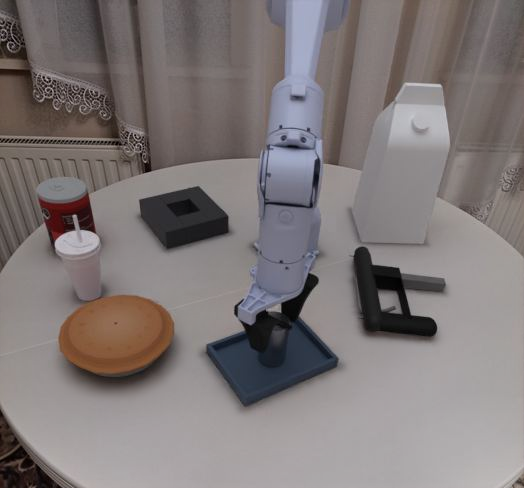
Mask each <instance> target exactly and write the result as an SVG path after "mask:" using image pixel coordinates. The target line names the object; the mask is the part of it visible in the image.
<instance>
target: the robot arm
mask: <svg viewBox="0 0 524 488" xmlns="http://www.w3.org/2000/svg"><path fill="white" fill-rule="evenodd" d="M264 3H265V6H264V7H265V12H266V13H267V17H268V18H269V20H270V23H271V24H273V25H276V26H277V27H279V28H282V29H283V30H284V67H283V68H284V70H283V71H284V72H283V73H284V76H283V79H282V80H280V81H279V82H277V83H276V84H275V85H274V86H273V88H272V90H271V93H270V94H271V96H270V103H269V112H268V121H267V129H266V130H267V131H266V139H265V148H264V149H261V150H260V154H259V159H258V166H257V167H258V168H257V179H256V193H257V201H258V214H257V215H258V218H259V229H258V230H259V231H258V241H255V242H253V247H254V248H255V250H257V262H256V265H254V266H253V267H252V268H251V269H249V276H250V277H252V279H253V280H252V281H251V284H250V286H249V289H248V290H247V293H246V294H245V297H244V298H242V299H241V300H239V302H237V303H236V304H235V305H234V308H233V315H234V316H235V317H236V318H237V320H238V321H239V323H240V324H241V325H242V327H243V329H244V331H246V334H247V337H248V340H249V343H250V347H251V348H252V349H254V350H256V351H258V352H259V353H261V354H263V353H264V352H265V351H266V350H267V347H268V344H269V339H270V335H271V333H272V330H273V328H274V327H275V325H276V324H277V323H278V322H279V321H280V320H278V319H276V318H274V317H272V316H270V315H268V312H269V310H268V309H270V308H273V307H275V306H278V305H280V312H281V313H283V314H285V315H286V316H287V317H288V318H289V320H290V321H291V322H293V323H294V322H295V321H296V320H297V319H298V317H300V315H301V312H302V310H303V308H304V305H305V303H306V301H307V300H308V298H309V297H310V295H311V293H312V292H313V290H314V289H315V288H316V287H317V285H318V284H319V282H320V277H318V276H317V275H316V274H313V273H311V271H313V270H314V269H315V266H316V259H317V256H318V255H320V251H319V250H318V245H319V238H320V232H321V227H322V226H321V225H322V216H321V210H320V207H319V206H318V204H319V203H318V202H319V198H320V195H321V190H322V181H323V173H324V154H323V153H324V152H323V139H322V129H323V119H324V118H323V117H324V107H325V93H324V91H323V89H322V87H321V86H320V85H319V84H318V83H317V82H316V76H317V72H318V66H319V61H320V56H321V51H322V46H323V39H324V36H325V34H326V33H328V32H331V31H335V30H339V29H341V28H342V27H341V26H342V25H343V24H344V23H345V20H346V19H347V18H348V15H349V11H350V6H351V0H265V1H264Z"/></svg>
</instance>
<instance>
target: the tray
mask: <svg viewBox="0 0 524 488" xmlns="http://www.w3.org/2000/svg"><path fill="white" fill-rule="evenodd" d="M290 325H291V326H293V328H292V329H291V330H289V334H288V342H287V350H286V358H285V361H284V363H283V364H282V365H280V366H278V367H266V366H264V365H262V364H261V363H260V362H259V360H258V357H257V356H258V351H256V350H254V349H252V348H251V347H250V343H249V340H248V337H247V334H246V331H245V330H242V331H239V332H235V333H234V334H231V335H228V336H225V337H222V338H220V339H218V340H217V339H216V340H215V341H212V342H209V343H206V344H205V351H206V354H207V356H208V358H210V360H211V361H212V363H213V364H214V365H215V367H216V369H218V371H219V373H220V374H221V375H222V377H223V378H224V380H225V381H226V383H227V384H228V385H229V386H230V388H231V389H232V391H233V392H234V393H235V395H236V396H237V398H238V399H239V401H240V402H241V403H242V405H243V407H247V406H250V405H253V404H254V403H258V402H259V401H262V400H263V399H266V398H269V397H271V396H273V395H275V394H277V393H280V392H282V391H285V390H287V389H289V388H291V387H294V386H296V385H299V384H300V383H302V382H305V381H307V380H310V379H312V378H314V377H316V376H318V375H321V374H323V373H326V372H328V371H330V370H332V369H335V368H337V367H338V364H339V359H340V358H339V357H338V356H337V354H335V352H333V351H332V349H331V348H330V347H329V346H328V345H327V344H326V343H325V341H323V340H322V339H321V338H320V336H318V334H317V333H316V332H314V330H313V329H312V328H311V327H310V326H309V325H308V324H307V323H306V322H305V321H304V320H303V319H302V318H301V317H300V316H299V317H298V319H297V320H296V321H295V322H294V323H293V322H291V321H290Z"/></svg>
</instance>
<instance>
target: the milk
mask: <svg viewBox="0 0 524 488" xmlns="http://www.w3.org/2000/svg"><path fill="white" fill-rule="evenodd" d="M448 123H449V122H448V117H447V110H446V102H445V95H444V88H443V85H442V84H440V83H423V82H404V83H403V84H402V86H401V88H400V90H398V93H397V95H396V96H395V97H394V100H393V101H392V102H390V103H389V104H388V105H387V106H386V107H385V108H384V109H383V110H382V111H381V112H379V114H378V115H377V117H376V119H375V121H374V124H373V128H372V132H371V135H370V139H369V143H368V147H367V151H366V155H365V157H364V162H363V166H362V169H361V173H360V176H359V181H358V185H357V188H356V192H355V195H354V199H353V202H352V203H353V204H352V207H351V213H352V216H353V220H354V224H355V226H356V231H357V233H358V237H359V240H360V242H361V243H370V244H371V243H374V244H377V243H378V244H406V245H409V244H411V245H424V244H425V241H426V237H427V233H428V230H429V225H430V222H431V218H432V215H433V211H434V207H435V204H436V201H437V197H438V193H439V190H440V186H441V182H442V178H443V176H444V171H445V167H446V164H447V160H448V157H449V153H450V147H451V139H450V131H449V124H448Z"/></svg>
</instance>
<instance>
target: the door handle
mask: <svg viewBox="0 0 524 488" xmlns="http://www.w3.org/2000/svg"><path fill="white" fill-rule="evenodd" d="M348 256H349V257H353V263H354V270H355V277H354V282H355V287H356V293H357V301H358V307H359V314H361V316H362V317H358V319H360V320H362V323H363V327H364V330H366V331H367V332H368V333H372V334H373V333H374V334H376V333H379V332H381V333H388V334H389V333H390V334H397V335H398V334H399V335H407V336H415V337H424V338H432V337H435V335H436V334H437V332H438V325H437V322H436V321H435V319H434V318H432V317H430V316H424V315H423V316H422V315H414V314H412V313H411V309H410V305H409V301H408V296H407V293H406V289H405V288H407V289H416V290H424V291H431V292H441V293H443V292H444V290H445V288H446V286H447V283H446V280H445V277H438V276H437V277H436V276H429V275H419V274H412V273H402V272H401V268H400V267H397V266H388V265H380V264H373V259H372V255H371V252H370V251H369V248H368V247H367V246H363V245H362V246H358V247H357V248H356V249H355V250H354V252H353V255H348ZM379 290H385V291H393V292H396V294H397V297H398V298H397V299H398V302H399V306H400V310H401V313H397V312H393V311H395V310H397V307H396V306H395V305H392V306H390V307H387V308H382V306H381V302H380V296H379Z"/></svg>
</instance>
